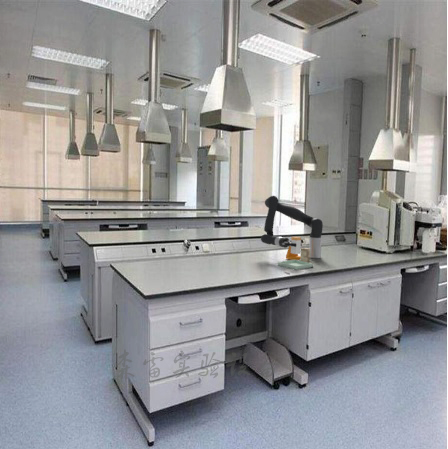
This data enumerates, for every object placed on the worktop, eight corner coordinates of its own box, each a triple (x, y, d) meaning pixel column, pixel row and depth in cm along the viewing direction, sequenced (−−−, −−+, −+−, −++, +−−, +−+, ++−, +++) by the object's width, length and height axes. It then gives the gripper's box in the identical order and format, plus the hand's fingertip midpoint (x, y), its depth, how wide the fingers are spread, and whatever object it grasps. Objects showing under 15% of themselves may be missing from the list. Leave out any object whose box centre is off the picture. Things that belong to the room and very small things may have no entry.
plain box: (304, 263, 288) (305, 247, 286) (309, 264, 284) (310, 248, 282) (300, 263, 285) (300, 248, 284) (305, 264, 281) (305, 249, 280)
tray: (294, 263, 286) (294, 259, 286) (312, 267, 272) (313, 263, 271) (278, 265, 275) (278, 261, 275) (296, 270, 261) (296, 266, 261)
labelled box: (295, 252, 276) (296, 236, 275) (300, 253, 272) (301, 237, 271) (290, 253, 273) (291, 236, 272) (295, 254, 269) (296, 237, 268)
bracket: (291, 260, 296) (291, 246, 295) (285, 259, 302) (286, 244, 301) (301, 259, 301) (302, 245, 299) (296, 258, 307) (296, 244, 306)
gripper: (275, 237, 279) (292, 240, 265) (288, 236, 287) (305, 239, 274) (275, 247, 279) (291, 250, 266) (288, 246, 288) (305, 249, 274)
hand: (298, 245), depth 270 cm, fingers closed on labelled box, 5 cm apart
